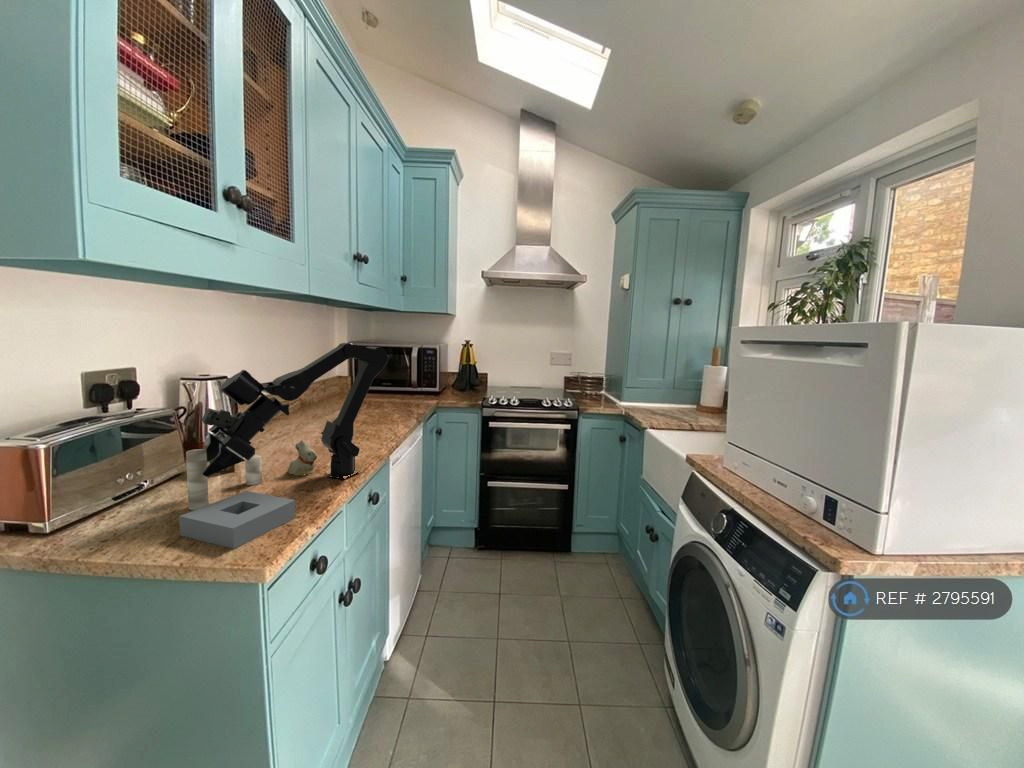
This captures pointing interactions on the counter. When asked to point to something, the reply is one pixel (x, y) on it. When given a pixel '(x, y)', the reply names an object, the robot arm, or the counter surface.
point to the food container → (227, 470)
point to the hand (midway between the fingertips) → (200, 470)
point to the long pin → (197, 478)
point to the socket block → (237, 519)
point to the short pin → (253, 470)
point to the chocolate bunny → (303, 460)
